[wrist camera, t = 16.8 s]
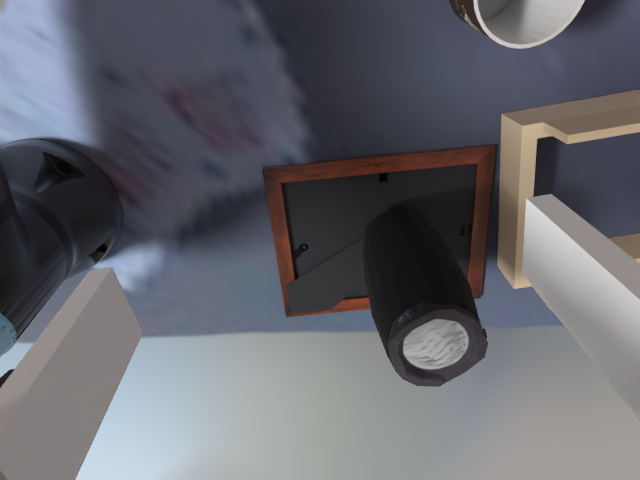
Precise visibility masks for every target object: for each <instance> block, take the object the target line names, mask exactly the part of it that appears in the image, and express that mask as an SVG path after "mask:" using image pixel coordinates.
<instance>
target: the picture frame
mask: <svg viewBox="0 0 640 480" xmlns="http://www.w3.org/2000/svg"><path fill="white" fill-rule="evenodd" d="M495 148H496V146H495V145H494V144H492V145H483V146H473V147H463V148H453V149H443V150H433V151H423V152H413V153H403V154H393V155H383V156H374V157H364V158H354V159H344V160H334V161H324V162H314V163H304V164H294V165H284V166H274V167H265V168H263V174H264V180H265V187H266V193H267V199H268V205H269V212H270V218H271V224H272V230H273V237H274V243H275V249H276V255H277V262H278V268H279V274H280V281H281V287H282V293H283V299H284V306H285V312H286V317H292V316H302V315H312V314H322V313H333V312H343V311H353V310H363V309H371V307H370V302H369V297H368V292H367V287H366V282H365V277H364V263H363V256H364V252H363V244H364V243H363V239H364V231H365V227H366V226H367V224H368V223H369V222H372V221H373V220H374V219H375V218H377V217H378V216H379V215H382V214H384V213H386V212H388V211H390V210H393V209H395V208H396V207H398V206H403V207H407V208H411V209H415V210H417V211H418V212H419V213H420V214H421V215H422V216H423V217H424V218H425V219H426V220H427V221H428V222H429V223H430V224H431V225H432V226H433V227H434V228H435V229H436V230H438V232H439V233H440V234H441V235H442V237H443V238H444V239H445V240H446V242H447V243H448V245H449V246H450V248H451V250H452V252H453V254H454V256H455V258H456V259H457V261H458V263H459V265H460V267H461V269H462V270H463V272H464V274H465V276H466V278H467V280H468V282H469V283H470V286H471V290H472V294H473V298H474V299H476V298H481V290H482V280H483V269H484V259H485V249H486V239H487V229H488V219H489V209H490V199H491V188H492V178H493V168H494V158H495ZM362 252H363V255H362Z"/></svg>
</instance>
